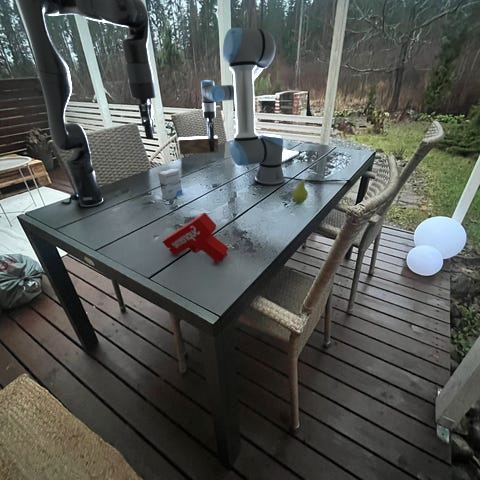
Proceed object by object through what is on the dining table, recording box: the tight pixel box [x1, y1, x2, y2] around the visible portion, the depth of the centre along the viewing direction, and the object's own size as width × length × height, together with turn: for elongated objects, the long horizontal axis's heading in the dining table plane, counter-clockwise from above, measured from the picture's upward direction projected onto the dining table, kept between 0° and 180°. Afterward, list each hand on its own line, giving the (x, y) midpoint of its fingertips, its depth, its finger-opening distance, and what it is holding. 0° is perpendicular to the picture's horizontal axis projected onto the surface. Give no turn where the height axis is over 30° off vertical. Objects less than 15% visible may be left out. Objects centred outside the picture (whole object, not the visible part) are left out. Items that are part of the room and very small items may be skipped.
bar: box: [177, 135, 219, 155], centre depth 170 cm, size 24×6×9 cm, turn 103°
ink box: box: [157, 168, 184, 200], centre depth 125 cm, size 8×5×12 cm, turn 135°
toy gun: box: [162, 212, 230, 264], centre depth 85 cm, size 18×4×15 cm
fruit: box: [291, 174, 311, 204], centre depth 118 cm, size 7×8×12 cm
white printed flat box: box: [282, 145, 300, 164], centre depth 184 cm, size 27×35×5 cm
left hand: (150, 136), depth 92 cm, fingers open, 8 cm apart
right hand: (211, 150), depth 174 cm, fingers closed on bar, 6 cm apart
